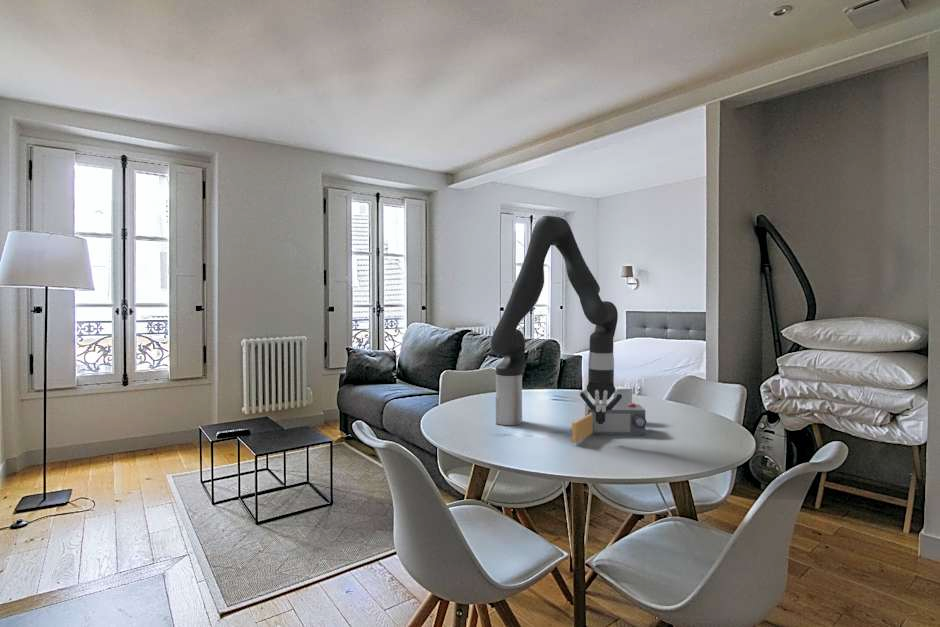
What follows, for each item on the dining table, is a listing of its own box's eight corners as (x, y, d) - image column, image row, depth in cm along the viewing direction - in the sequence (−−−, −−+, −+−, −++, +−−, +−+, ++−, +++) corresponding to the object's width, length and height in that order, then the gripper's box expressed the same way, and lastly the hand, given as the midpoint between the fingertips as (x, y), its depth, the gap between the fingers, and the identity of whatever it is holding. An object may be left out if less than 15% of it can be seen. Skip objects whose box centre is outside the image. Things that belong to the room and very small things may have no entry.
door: (589, 432, 166) (589, 411, 166) (594, 433, 165) (594, 412, 165) (570, 443, 153) (570, 421, 153) (575, 444, 152) (575, 422, 152)
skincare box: (616, 423, 180) (616, 388, 179) (610, 420, 184) (611, 386, 184) (632, 422, 180) (632, 388, 180) (627, 419, 185) (627, 386, 184)
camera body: (588, 435, 164) (589, 408, 164) (584, 426, 175) (584, 401, 174) (646, 436, 162) (646, 409, 162) (638, 427, 173) (639, 402, 173)
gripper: (579, 368, 152) (578, 425, 153) (625, 369, 150) (624, 427, 151) (578, 364, 160) (577, 419, 161) (622, 365, 157) (621, 421, 158)
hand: (600, 423), depth 156 cm, fingers closed
